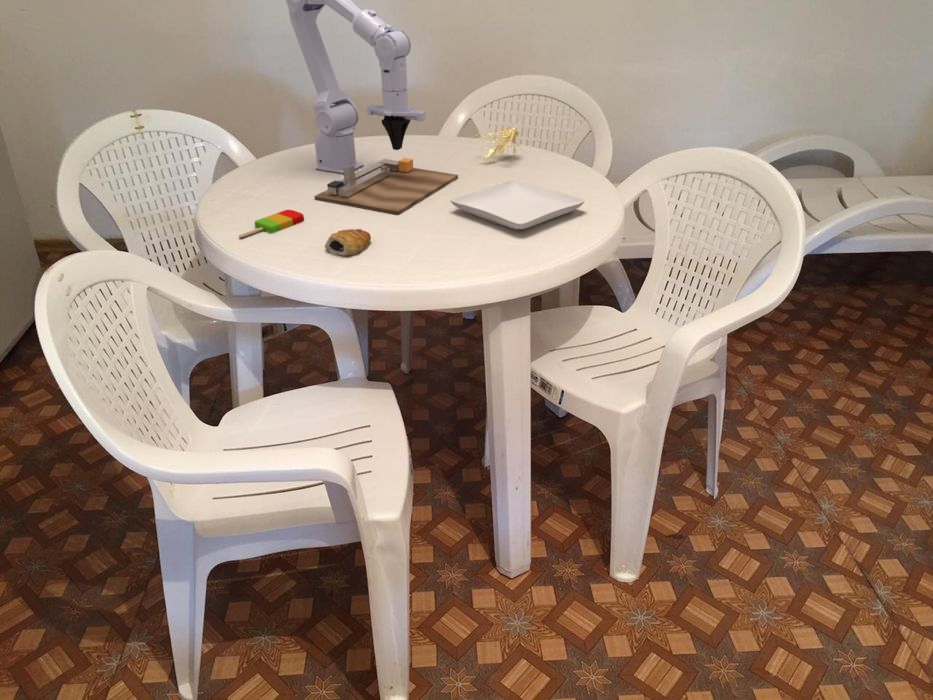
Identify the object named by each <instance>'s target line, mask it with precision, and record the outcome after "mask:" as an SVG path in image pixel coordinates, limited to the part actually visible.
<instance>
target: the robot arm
mask: <svg viewBox="0 0 933 700" xmlns="http://www.w3.org/2000/svg"><path fill="white" fill-rule="evenodd" d="M285 3H286V5H287V7H288V14H289V21H290V24H291V26H292V29H293V31H294V34H295V37H296V39H297V42H298V45H299V48H300V51H301V53H302V56H303V58H304V61H305V64H306V66H307V69H308V72H309V75H310V78H311V80H312V83H313V85H314V88H315V90H316V94H317V98H316V100H315V102H314V104H313V106H312V107H313V111H314V113H315V123H316V125H317V126H316V127H317V128H318V130H319V131H318V133H317V134H316V136H315V139H314V140H315V141H314V148H315V158H316V166H315V170H321V171H325V172H326V171H328V172H333V173H339V174H344V171H343V167H344V166H347V165H353V166H354V169H355V170H357V169H359V168H362V167H363V166H364V163H361V162H357V158H356V156H357V155H356V146H355V144H356V143H355V135H354V131H355V130H356V127H355V126H357V125H358V122H359V119H360V116H359V111H358V108H357V107H356V105H355V104H354V103H353V102H352V100H351V97H350V94H349V93H347V92H345V91H344V90H342V89H341V88H340V87H339V86H340V85H339V82H338V80H337V78H336V74H335V71H334V69H333V66H332V63H331V61H330V58H329V56H328V53H327V50H326V47H325V44H324V41H323V39H322V36H321V32H320V30H319V27H318V24H317V19H318V16H319V14H320V13H321V12H322V10H323V9H324V8H325V6H327V7H329V8H330V9H331V10H333V11H334V12H336V13H337V14H339V15H340V16H341V17H343V18H344V19H345V20H347V21H348V22H350V23H351V24H352V30H353V32H354V33H356V35H358V36H359V37H360V38H361V39H362V40H364V41H365V43H367V44H369V45H370V47H372V48H373V50H374V53H375V56H376V58H377V59H378V66H379V67H380V76H381V77H380V78H381V93H382V105H381V104H379V105H378V104H375V105H374V104H370V105H367V106H366V113H367V115H368V116H380V117H381V116H382V117H383V119H381V124H382V126H383V127H384V129H385V131H386V132H387V135H388V138H389V141H390V143H391V147H392V150H395V151H399V150H401V149H403V142H404V139H405V135H406V131H407V129H408V126H409V124H410V123H411V121H417V122H419V123H422V122H424V121H426V111H423V110H418V109H415V108H410V107H409V102H408V77H407V76H408V74H407V73H408V71H407V56H409V53H410V52H411V49H412V44H411V39H410V37H409V35H408V34H407V33H406V32H405V31H404V30H403V29H394V28H393V26H392V25H391V24H390V23H389V24H387V23H386V22H385V21H384V20H382V19H381V18H380V17H378V16H377V11H375V10H374V9H371V10H370V9H368V8H365V9H361V8H360V7H358V6H357V5H356V3H355V2H353V1H352V0H285Z"/></svg>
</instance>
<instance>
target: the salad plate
mask: <svg viewBox="0 0 933 700" xmlns="http://www.w3.org/2000/svg"><path fill="white" fill-rule="evenodd" d="M450 203H451V204H452V205H453V206H454V207H456V208H457V209H459V210H461V211H463V212H466V213H468V214H472V215H473V216H476V217H478V218H481V219H483V220H486V221H489V222H492V223H494V224H498V225H500V226H502V227H505V228H508V229H509V228H510V229H512V228H513V230H519V229H520V230H527V229H528V228H529V227H530V228H532V227H535V226H537V224H538V225H540V224H543V223H545V221H546V222H548V221H550V219H551V220H552V219H555V217H556V218H557V217H560V216H563V215H566V214H568V213H571V212H573V211H575V210H577V209H579V208H580V207H582V205H583V204H585V203H586V201H585V200H584V199H582V198H579V197H577V196H573V195H570V194H567V193H564V192H561V191H558V190H555V189H551V188H548V187H546V186H541V185H538V184H535V183H532V182H531V183H530V182H527V181H524V180H520V179H516V178H513V179H510V180H506V181H502V182H499V183H495V184H492V185H489V186H486V187H482V188H480V189H477V190H473V191H470V192H467V193H464V194H460V195H458V196H456V197H452V198H450ZM542 222H543V223H542ZM526 228H527V229H526Z"/></svg>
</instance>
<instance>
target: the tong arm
mask: <svg viewBox="0 0 933 700" xmlns="http://www.w3.org/2000/svg"><path fill="white" fill-rule="evenodd" d="M343 171H344V173H343V179H344V182H345V186H343V187H341V188H339V196H344V197H349V196H351V195H353V194H354V193H356V192H358V191H360V190H362V189H364V188H366V187H368V186H370V185H372V184H373V183H375V182H377V181H379V180H381V179H383V178H385V177H387V176H389V175H390V168H387V166H386V165H383V166H381V168H379V169H377V170H375V171H373V172H371V173H369V174H367V175H365V176H363V177H361V178H359V179H357V180H355V173H356V169H354V166H353V165H347V166H344V167H343Z"/></svg>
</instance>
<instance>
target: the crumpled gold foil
mask: <svg viewBox="0 0 933 700" xmlns="http://www.w3.org/2000/svg"><path fill="white" fill-rule="evenodd" d="M504 126H506V125H505V123H504ZM511 126H512V127H511V128H509V127H506V128H505V129H500V130H497V131H496V130H493V131H495V132H490V131H487V130H486V131H484V133H487V134H486V135H484V136H480V137H478V138H476V139H474V140H473V141H472V142H471V143H473V142H476V141H478V140H481V139H483V138H484V137H485V138H489V139H490V138H492V137H494V138H492V139H490V140H489V139H488V142H491V146H490V145H487V146H485V147H483V146H482V147H480V149H481V151H483V150H485V149H487V148H489V147H490V148H489V150H488V151H487V153H486V154H485V155H483V156H482V157H480V158H479V160H478V162H480V161H481V160H482V159H483V160H482V163H484V162H486V161H487V160H488V159H489V157H492V158H491V159H490V161H489V162H491V161H492V160H493V159H494V158H493V156H497V159H495V162H497V161H498V159H499V156H501V155H503V154H504V153H505V151H506V150H507V151H506V153H508V150H509V149H507V148H509V146H510V144H512V145H511V147H510V148H512V147H513V152H512V154H513V155H512V157H511V162H512V161H513V158H514V156H515V154H516V153H517V148H516V147H518V148H520V150H523V147H521V146H520V145H521V142H520V143H516V142H517V137H519V134H520V131H519V130H517V128H519V125H513V123H512V125H511ZM479 134H480V133H477V134H476V135H475V136H476V137H477V136H478V135H479ZM493 135H494V136H493ZM484 142H485V143H486V142H487V140H485V141H484ZM492 146H495V147H494V148H493V147H492ZM482 148H483V149H482ZM484 158H485V159H484Z"/></svg>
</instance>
